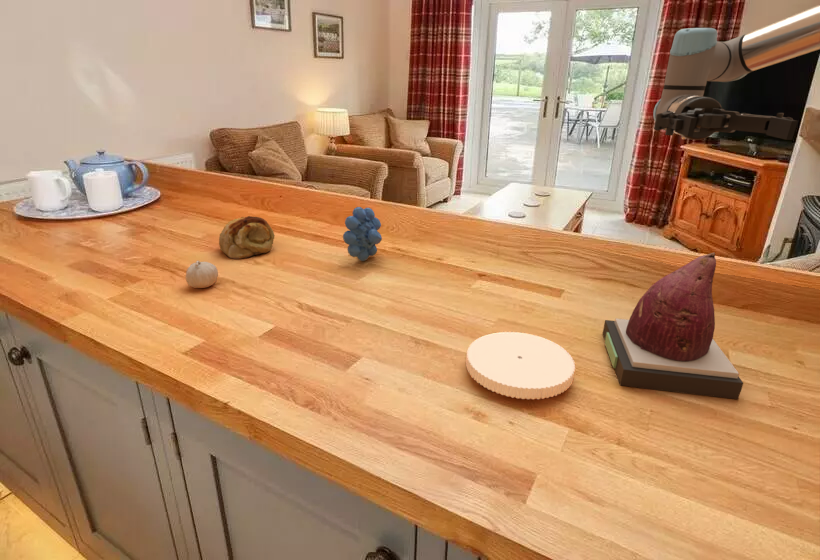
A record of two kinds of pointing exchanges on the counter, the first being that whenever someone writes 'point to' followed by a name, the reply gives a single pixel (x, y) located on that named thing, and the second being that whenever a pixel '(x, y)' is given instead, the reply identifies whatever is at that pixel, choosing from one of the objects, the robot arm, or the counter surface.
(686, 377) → the scale
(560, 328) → the counter surface
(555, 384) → the plastic lid
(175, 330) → the counter surface
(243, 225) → the pastry
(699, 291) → the vegetable
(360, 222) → the grapes
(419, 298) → the counter surface
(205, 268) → the garlic
